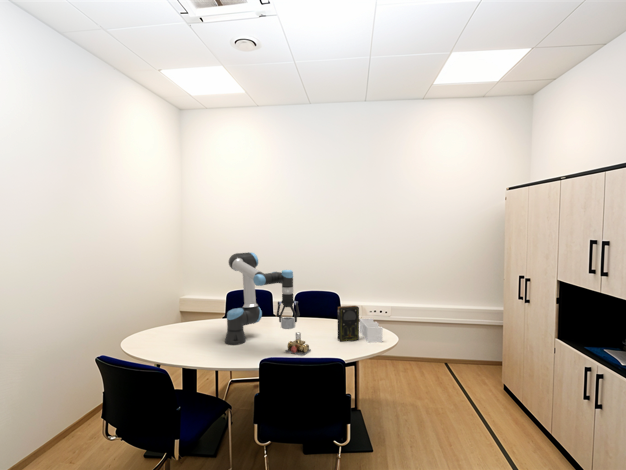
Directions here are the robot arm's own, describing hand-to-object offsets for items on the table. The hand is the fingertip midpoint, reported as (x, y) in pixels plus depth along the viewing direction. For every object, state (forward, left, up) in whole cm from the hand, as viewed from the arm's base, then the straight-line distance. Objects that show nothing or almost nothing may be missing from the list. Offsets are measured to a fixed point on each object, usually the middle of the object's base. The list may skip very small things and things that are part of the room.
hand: (288, 327), depth 233 cm
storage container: (+36, +59, -17) cm, 71 cm away
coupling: (0, 0, 0) cm, 0 cm away
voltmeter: (+24, +44, -17) cm, 53 cm away
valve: (+5, +5, -17) cm, 18 cm away
